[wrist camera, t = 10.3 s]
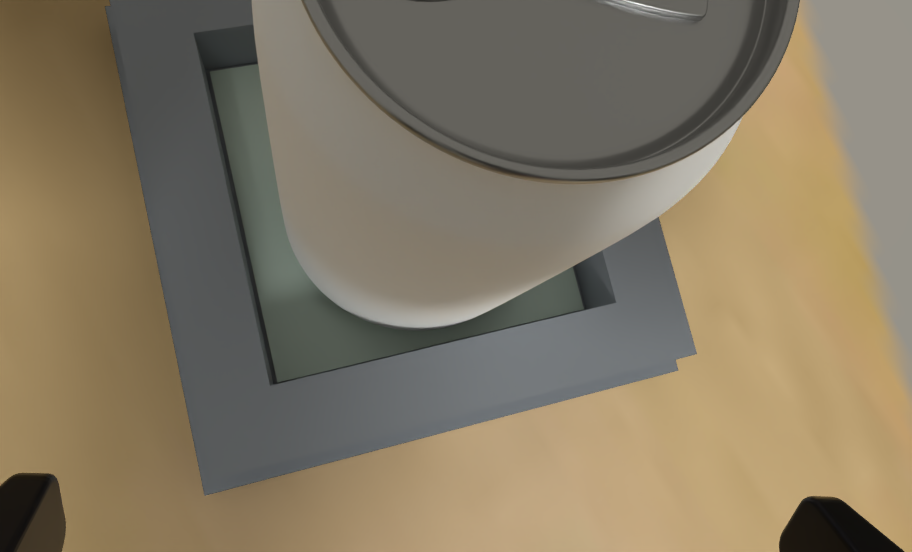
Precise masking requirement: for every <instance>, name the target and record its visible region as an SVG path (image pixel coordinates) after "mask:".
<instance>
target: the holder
mask: <svg viewBox="0 0 912 552" xmlns="http://www.w3.org/2000/svg"><path fill="white" fill-rule="evenodd" d="M110 5H111V6H105V9H106V14H107V19H108V23H109V28H110V33H111V38H112V43H113V48H114V53H115V58H116V63H117V68H118V73H119V77H120V82H121V87H122V92H123V97H124V102H125V107H126V112H127V117H128V122H129V127H130V132H131V136H132V141H133V146H134V151H135V156H136V161H137V166H138V171H139V176H140V181H141V186H142V190H143V195H144V200H145V205H146V210H147V215H148V220H149V225H150V230H151V235H152V240H153V244H154V249H155V254H156V259H157V264H158V269H159V274H160V279H161V284H162V289H163V294H164V299H165V303H166V308H167V313H168V318H169V323H170V328H171V333H172V338H173V343H174V348H175V353H176V357H177V362H178V367H179V372H180V377H181V382H182V387H183V392H184V397H185V402H186V407H187V411H188V416H189V421H190V426H191V431H192V436H193V441H194V446H195V451H196V456H197V461H198V466H199V470H200V475H201V480H202V485H203V490H204V495H209V494H213V493H217V492H220V491H224V490H228V489H232V488H235V487H239V486H243V485H247V484H251V483H254V482H258V481H262V480H266V479H270V478H273V477H277V476H281V475H285V474H288V473H292V472H296V471H300V470H304V469H307V468H311V467H315V466H319V465H322V464H326V463H330V462H334V461H338V460H341V459H345V458H349V457H353V456H356V455H360V454H364V453H368V452H372V451H375V450H379V449H383V448H387V447H391V446H394V445H398V444H402V443H406V442H409V441H413V440H417V439H421V438H425V437H428V436H432V435H436V434H440V433H443V432H447V431H451V430H455V429H459V428H462V427H466V426H470V425H474V424H478V423H481V422H485V421H489V420H493V419H496V418H500V417H504V416H508V415H512V414H515V413H519V412H523V411H527V410H530V409H534V408H538V407H542V406H546V405H549V404H553V403H557V402H561V401H565V400H568V399H572V398H576V397H580V396H583V395H587V394H591V393H595V392H599V391H602V390H606V389H610V388H614V387H617V386H621V385H625V384H629V383H633V382H636V381H640V380H644V379H648V378H652V377H655V376H659V375H663V374H667V373H670V372H674V371H678V367H677V364H676V359H679V358H683V357H687V356H691V355H695V354H697V352H696V349H695V345H694V342H693V338H692V335H691V331H690V328H689V324H688V320H687V317H686V313H685V310H684V306H683V303H682V299H681V296H680V292H679V288H678V285H677V281H676V278H675V274H674V271H673V267H672V264H671V260H670V256H669V253H668V249H667V246H666V242H665V239H664V235H663V231H662V228H661V224H660V221H659V217H657V218H656V219H654V220H653V221H651V222H650V223H648V224H646V225H645V226H643V227H642V228H640V229H638V230H637V231H635V232H633V233H632V234H630V235H629V236H627V237H625V238H623V239H621V240H620V241H618V242H616V243H614V244H613V245H611V246H609V247H607V248H605V249H604V250H602V251H600V252H598V253H596V254H595V255H593V256H591V257H589V258H587V259H585V260H584V261H582V262H580V263H578V264H576V265H574V266H573V267H571V268H569V269H567V270H565V271H563V272H561V273H560V274H558V275H556V276H554V277H552V278H550V279H548V280H547V281H545V282H543V283H541V284H539V285H537V286H535V287H533V288H532V289H530V290H528V291H526V292H524V293H522V294H520V295H518V296H516V297H515V298H513V299H511V300H509V301H507V302H505V303H503V304H501V305H499V306H497V307H495V308H493V309H491V310H490V311H488V312H485V313H483V314H481V315H479V316H477V317H475V318H473V319H470V320H468V321H465V322H463V323H460V324H457V325H454V326H450V327H446V328H441V329H434V330H422V331H410V330H399V329H392V328H388V327H383V326H380V325H376V324H373V323H370V322H368V321H365V320H363V319H361V318H359V317H356V316H354V315H353V314H351V313H349V312H347V311H346V310H344V309H342V308H341V307H339V306H338V305H337V304H335V303H334V302H333V301H331V300H330V299H329V298H328V297H327V296H326V295H325V294H323V293H322V292H321V291H320V290H319V289H318V288H317V286H316V285H315V284H314V283H313V282H312V281H311V279H310V278H309V277H308V276H307V274H306V273H305V271H304V270H303V268H302V267H301V265H300V263H299V262H298V260H297V258H296V256H295V254H294V252H293V250H292V248H291V245H290V242H289V239H288V236H287V233H286V229H285V225H284V220H283V215H282V210H281V204H280V199H279V193H278V187H277V181H276V175H275V169H274V163H273V157H272V150H271V144H270V138H269V132H268V125H267V119H266V113H265V106H264V100H263V93H262V87H261V80H260V73H259V66H258V59H257V52H256V44H255V36H254V25H253V14H252V0H110Z"/></svg>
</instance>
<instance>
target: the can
mask: <svg viewBox="0 0 912 552" xmlns="http://www.w3.org/2000/svg"><path fill="white" fill-rule="evenodd" d="M799 2H800V0H252V14H253V25H254V36H255V44H256V52H257V59H258V66H259V73H260V80H261V87H262V93H263V100H264V106H265V113H266V119H267V125H268V132H269V138H270V144H271V150H272V157H273V163H274V169H275V175H276V181H277V187H278V193H279V199H280V204H281V210H282V215H283V220H284V225H285V229H286V233H287V236H288V239H289V242H290V245H291V248H292V250H293V252H294V254H295V256H296V258H297V260H298V262H299V263H300V265H301V267H302V268H303V270H304V271H305V273H306V274H307V276H308V277H309V278H310V279H311V281H312V282H313V283H314V284H315V285H316V286H317V288H318V289H319V290H320V291H321V292H322V293H323V294H325V295H326V296H327V297H328V298H329V299H330V300H331V301H333V302H334V303H335V304H337V305H338V306H339V307H341V308H342V309H344V310H346V311H347V312H349V313H351V314H353V315H354V316H356V317H359V318H361V319H363V320H365V321H368V322H370V323H373V324H376V325H380V326H383V327H388V328H392V329H399V330H410V331H422V330H434V329H441V328H446V327H450V326H454V325H457V324H460V323H463V322H465V321H468V320H470V319H473V318H475V317H477V316H479V315H481V314H483V313H485V312H488V311H490V310H491V309H493V308H495V307H497V306H499V305H501V304H503V303H505V302H507V301H509V300H511V299H513V298H515V297H516V296H518V295H520V294H522V293H524V292H526V291H528V290H530V289H532V288H533V287H535V286H537V285H539V284H541V283H543V282H545V281H547V280H548V279H550V278H552V277H554V276H556V275H558V274H560V273H561V272H563V271H565V270H567V269H569V268H571V267H573V266H574V265H576V264H578V263H580V262H582V261H584V260H585V259H587V258H589V257H591V256H593V255H595V254H596V253H598V252H600V251H602V250H604V249H605V248H607V247H609V246H611V245H613V244H614V243H616V242H618V241H620V240H621V239H623V238H625V237H627V236H629V235H630V234H632V233H633V232H635V231H637V230H638V229H640V228H642V227H643V226H645V225H646V224H648V223H650V222H651V221H653V220H654V219H656V218H657V217H659V216H660V215H662V214H663V213H664V212H666V211H667V210H668V209H670V208H671V207H672V206H673V205H675V204H676V203H677V202H678V201H679V200H680V199H682V198H683V197H684V196H685V195H686V194H687V193H688V192H690V191H691V190H692V189H693V188H694V187H695V186H696V185H697V184H698V183H699V182H700V181H701V180H702V179H703V178H704V176H705V175H706V174H707V173H708V172H709V171H710V169H711V168H712V167H713V166H714V165H715V163H716V162H717V161H718V159H719V158H720V156H721V155H722V153H723V152H724V150H725V149H726V147H727V146H728V144H729V142H730V141H731V139H732V137H733V135H734V133H735V131H736V130H737V128H738V125H739V123H740V121H741V119H742V117H743V115H744V114H745V113H746V112H747V111H748V110H749V109H750V108H751V107H752V105H753V104H754V103H755V102H756V101H757V99H758V98H759V97H760V95H761V94H762V93H763V91H764V90H765V88H766V87H767V85H768V84H769V82H770V81H771V79H772V77H773V76H774V74H775V72H776V70H777V68H778V66H779V65H780V63H781V60H782V58H783V56H784V54H785V52H786V49H787V46H788V44H789V41H790V38H791V35H792V32H793V29H794V25H795V22H796V17H797V13H798V8H799Z"/></svg>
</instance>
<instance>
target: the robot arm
mask: <svg viewBox="0 0 912 552" xmlns="http://www.w3.org/2000/svg"><path fill="white" fill-rule="evenodd" d="M65 531H66V521H65V515H64V510H63V504H62V499H61V494H60V488H59V483H58V480H57V478H56V477H55V476H54V475H52V474H44V473H18V474H15V475H13V476H11V477H10V478H8V479H7V480H6V481H5V482H4V483H3V484H2V485H1V486H0V552H62V548H63V544H64V539H65ZM779 551H780V552H904V551H903V550H902V549H901V548H899V547H898V546H897V545H896V544H895V543H893V542H892V541H891V540H890V539H889V538H887V537H886V536H885V535H884V534H882V533H881V532H880V531H879V530H878V529H876V528H875V527H874V526H873V525H872V524H870V523H869V522H868V521H867V520H866V519H864V518H863V517H862V516H861V515H859V514H858V513H857V512H856V511H855V510H853V509H852V508H851V507H850V506H849V505H847V504H846V503H845V502H843V501H842V500H840V499H838V498H835V497H821V496H810V497H807V498H805V499H803V500H802V501H801V503H800V504H799V506H798V507H797V509H796V511H795V512H794V514H793V516H792V517H791V519H790V521H789V522H788V524H787V525H786V527H785V529H784V530H783V532H782V534H781V537H780V541H779Z"/></svg>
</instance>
